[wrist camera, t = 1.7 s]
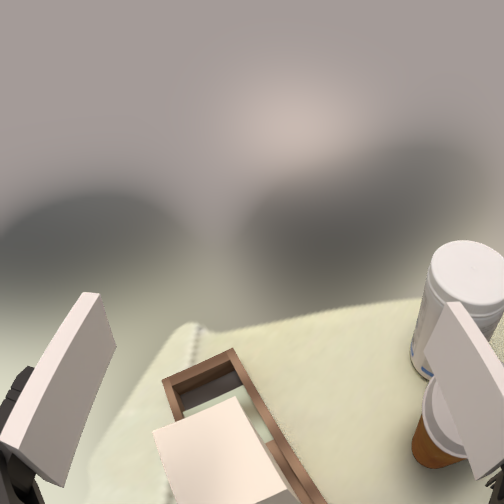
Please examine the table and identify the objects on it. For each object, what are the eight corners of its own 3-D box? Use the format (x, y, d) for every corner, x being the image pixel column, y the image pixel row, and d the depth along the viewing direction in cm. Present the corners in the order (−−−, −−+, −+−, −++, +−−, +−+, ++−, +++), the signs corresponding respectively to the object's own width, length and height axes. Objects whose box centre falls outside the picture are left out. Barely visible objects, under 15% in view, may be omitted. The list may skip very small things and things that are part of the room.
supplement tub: (487, 360, 30) (531, 277, 21) (436, 401, 29) (479, 324, 20) (445, 314, 38) (469, 227, 29) (393, 346, 36) (411, 258, 27)
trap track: (354, 543, 19) (356, 545, 17) (261, 585, 17) (255, 589, 15) (238, 360, 40) (232, 347, 38) (171, 390, 38) (161, 379, 36)
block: (304, 506, 22) (287, 488, 13) (247, 531, 21) (187, 527, 12) (271, 454, 27) (235, 395, 18) (219, 477, 26) (151, 431, 17)
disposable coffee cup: (488, 447, 22) (542, 402, 14) (421, 498, 20) (465, 478, 13) (447, 391, 29) (482, 331, 22) (382, 433, 28) (403, 387, 21)
